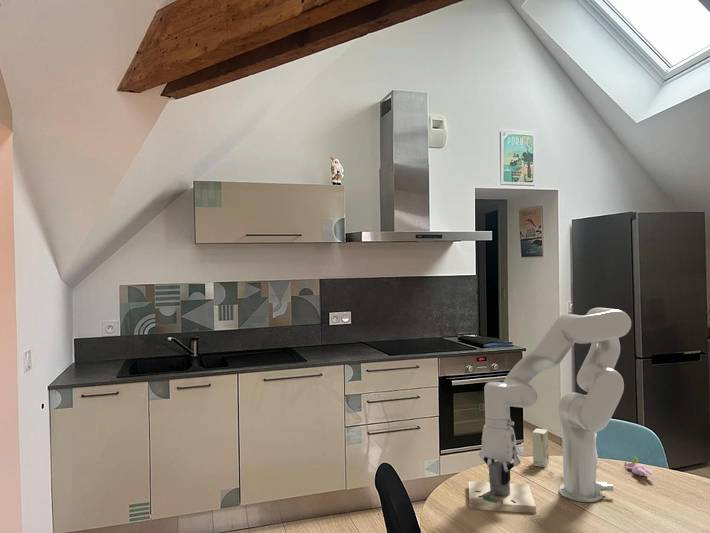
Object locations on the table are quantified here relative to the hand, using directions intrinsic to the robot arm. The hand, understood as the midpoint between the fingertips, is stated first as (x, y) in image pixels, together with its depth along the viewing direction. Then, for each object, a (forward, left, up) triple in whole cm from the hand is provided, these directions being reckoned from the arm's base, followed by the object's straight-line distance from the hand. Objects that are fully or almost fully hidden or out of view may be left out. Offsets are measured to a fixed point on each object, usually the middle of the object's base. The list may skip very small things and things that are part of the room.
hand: (499, 480), depth 162 cm
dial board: (0, 0, -6) cm, 6 cm away
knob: (+2, +2, -3) cm, 4 cm away
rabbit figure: (-48, -26, -6) cm, 55 cm away
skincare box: (-17, -32, -6) cm, 37 cm away
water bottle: (-33, -33, -6) cm, 47 cm away
